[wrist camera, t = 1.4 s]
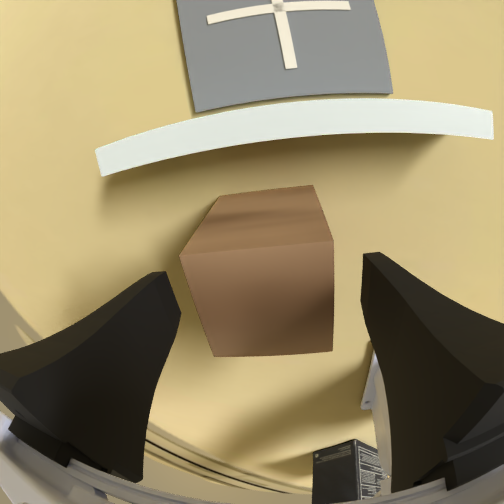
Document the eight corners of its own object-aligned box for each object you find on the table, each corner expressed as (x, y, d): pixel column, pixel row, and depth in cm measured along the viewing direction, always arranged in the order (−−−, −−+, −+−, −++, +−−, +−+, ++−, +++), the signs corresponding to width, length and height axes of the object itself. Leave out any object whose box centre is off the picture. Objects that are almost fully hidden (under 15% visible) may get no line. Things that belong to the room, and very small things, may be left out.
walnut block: (318, 266, 15) (332, 351, 10) (236, 273, 16) (214, 356, 10) (312, 185, 13) (333, 240, 7) (220, 196, 13) (178, 255, 8)
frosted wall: (452, 129, 10) (493, 139, 7) (140, 159, 13) (101, 176, 10) (450, 106, 10) (492, 111, 7) (135, 137, 12) (94, 149, 9)
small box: (308, 451, 27) (306, 524, 18) (355, 437, 25) (360, 516, 15) (347, 465, 30) (348, 524, 21) (386, 452, 28) (393, 514, 18)
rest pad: (390, 93, 10) (393, 93, 10) (197, 112, 12) (195, 112, 11) (351, -54, 6) (352, -57, 6) (173, -34, 7) (170, -37, 7)
